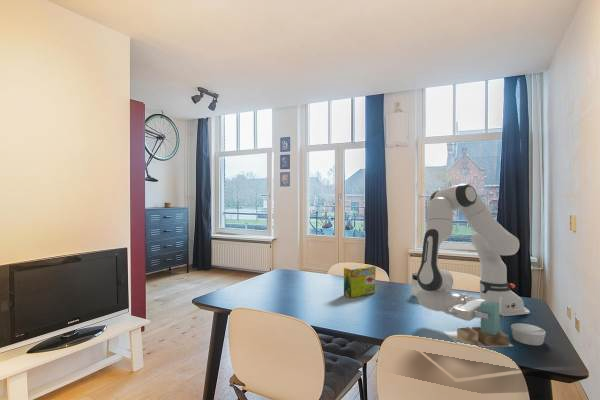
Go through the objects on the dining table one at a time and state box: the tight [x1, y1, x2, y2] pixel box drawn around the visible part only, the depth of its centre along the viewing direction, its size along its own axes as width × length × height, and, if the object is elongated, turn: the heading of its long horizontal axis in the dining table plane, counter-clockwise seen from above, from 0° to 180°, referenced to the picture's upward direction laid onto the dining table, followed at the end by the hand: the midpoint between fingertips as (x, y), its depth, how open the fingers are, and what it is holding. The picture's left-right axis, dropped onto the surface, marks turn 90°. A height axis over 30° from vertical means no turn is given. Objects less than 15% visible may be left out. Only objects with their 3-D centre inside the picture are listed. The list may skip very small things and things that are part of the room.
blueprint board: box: [443, 331, 514, 348], centre depth 133 cm, size 20×14×1 cm
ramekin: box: [510, 322, 546, 346], centre depth 131 cm, size 11×11×5 cm
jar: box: [411, 272, 421, 298], centre depth 191 cm, size 9×8×12 cm
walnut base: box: [471, 326, 510, 347], centre depth 131 cm, size 9×9×4 cm
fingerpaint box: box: [343, 264, 377, 298], centre depth 195 cm, size 19×7×16 cm, turn 122°
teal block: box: [480, 300, 500, 335], centre depth 130 cm, size 5×5×11 cm
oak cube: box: [456, 326, 478, 346], centre depth 128 cm, size 5×5×5 cm
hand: (492, 313), depth 130 cm, fingers open, 7 cm apart
